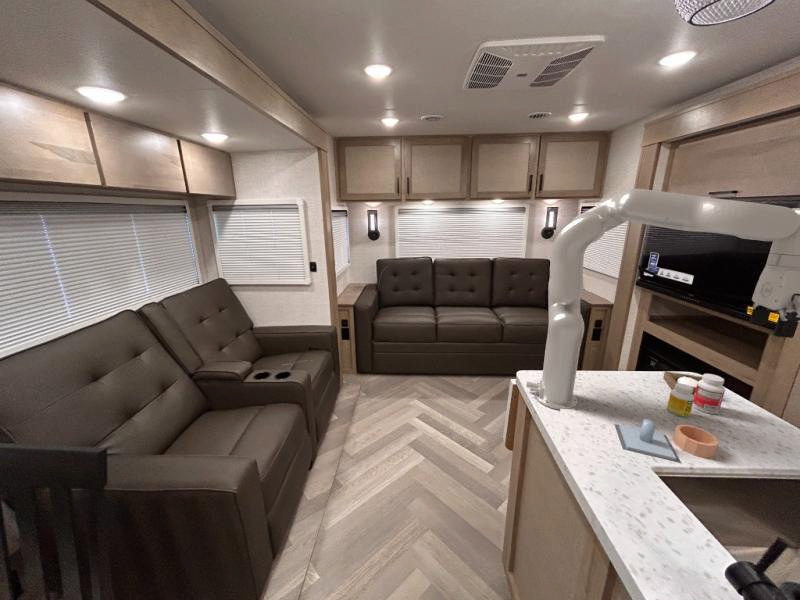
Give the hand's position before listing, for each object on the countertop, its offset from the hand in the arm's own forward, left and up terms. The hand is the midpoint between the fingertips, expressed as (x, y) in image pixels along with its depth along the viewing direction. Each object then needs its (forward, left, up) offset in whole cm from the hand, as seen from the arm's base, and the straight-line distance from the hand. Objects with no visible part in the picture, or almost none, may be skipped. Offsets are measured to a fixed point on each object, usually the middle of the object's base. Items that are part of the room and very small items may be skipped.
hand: (769, 329), depth 78 cm
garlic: (-2, +26, -32) cm, 41 cm away
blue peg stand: (-24, -14, -30) cm, 41 cm away
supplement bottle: (-11, +6, -32) cm, 34 cm away
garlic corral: (-2, +26, -31) cm, 41 cm away
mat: (-24, -14, -31) cm, 42 cm away
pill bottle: (-2, +13, -32) cm, 34 cm away
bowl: (-13, -11, -31) cm, 36 cm away
